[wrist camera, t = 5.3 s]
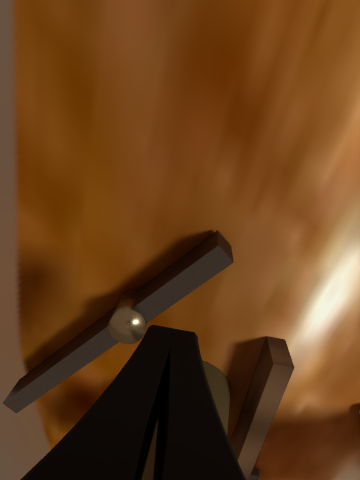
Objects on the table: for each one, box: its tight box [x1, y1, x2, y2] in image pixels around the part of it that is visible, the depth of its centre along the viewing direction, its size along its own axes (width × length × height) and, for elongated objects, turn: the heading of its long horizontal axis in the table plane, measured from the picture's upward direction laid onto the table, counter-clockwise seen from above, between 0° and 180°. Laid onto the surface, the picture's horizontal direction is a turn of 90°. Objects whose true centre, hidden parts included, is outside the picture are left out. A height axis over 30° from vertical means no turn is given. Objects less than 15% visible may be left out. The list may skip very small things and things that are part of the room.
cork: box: [142, 361, 231, 480], centre depth 17 cm, size 6×6×11 cm
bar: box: [3, 230, 234, 413], centre depth 19 cm, size 19×2×2 cm, turn 131°
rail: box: [230, 337, 294, 480], centre depth 21 cm, size 12×1×2 cm, turn 171°
